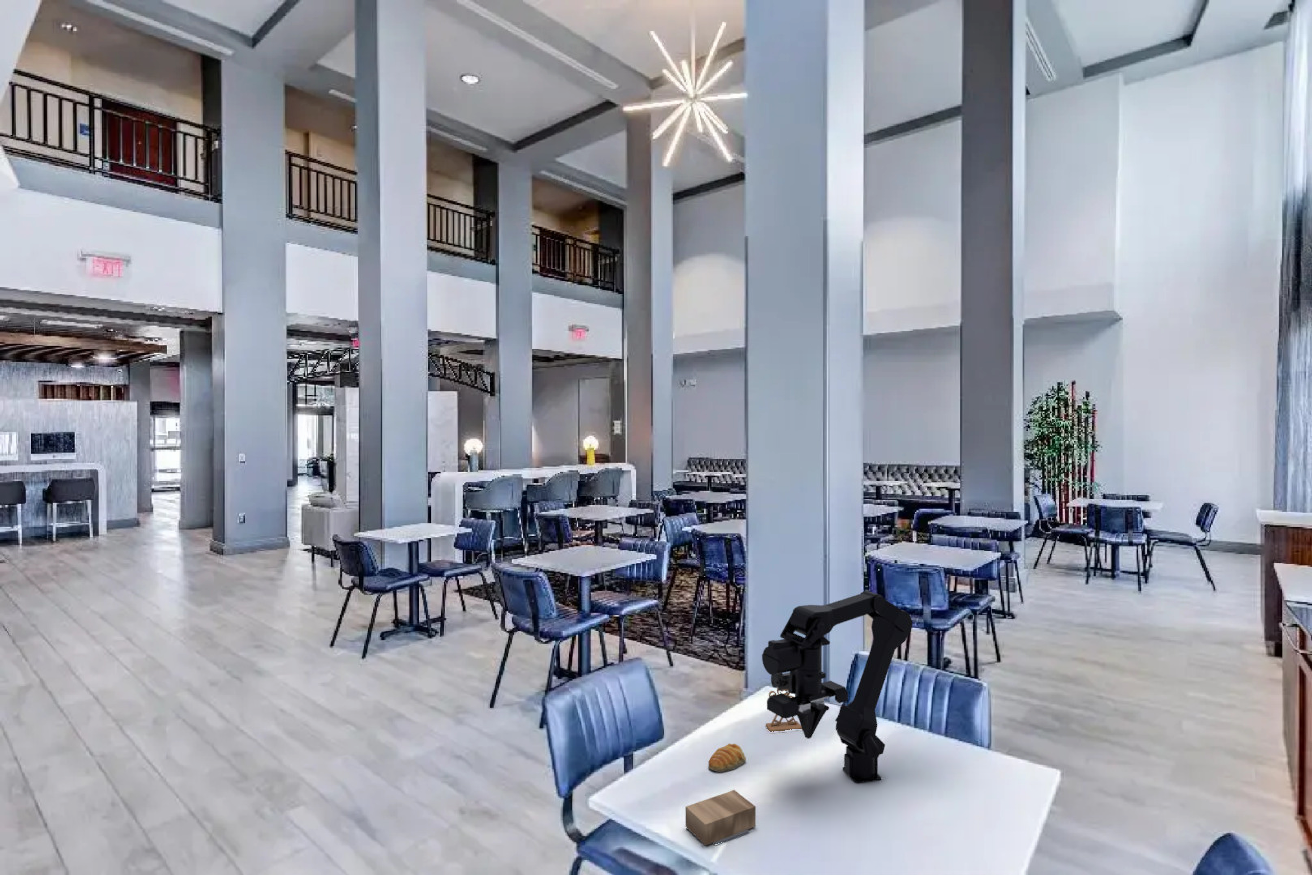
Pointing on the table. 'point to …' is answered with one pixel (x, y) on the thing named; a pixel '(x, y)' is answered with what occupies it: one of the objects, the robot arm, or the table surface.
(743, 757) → the pastry
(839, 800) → the table surface
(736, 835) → the mat
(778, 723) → the gingerbread man figurine
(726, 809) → the block
